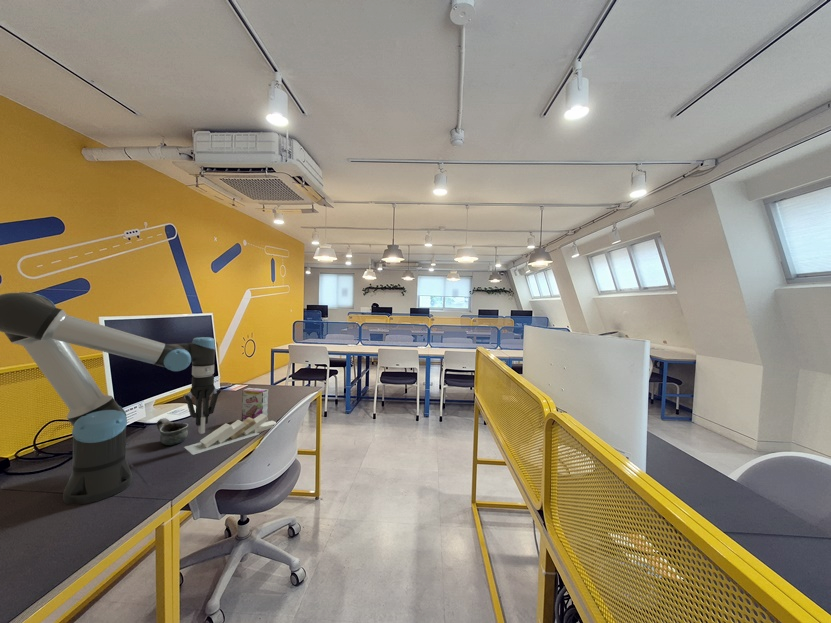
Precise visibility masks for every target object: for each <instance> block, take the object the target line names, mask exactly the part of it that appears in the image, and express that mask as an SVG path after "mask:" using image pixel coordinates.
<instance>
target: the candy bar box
mask: <svg viewBox="0 0 831 623" xmlns="http://www.w3.org/2000/svg"><path fill="white" fill-rule="evenodd" d="M241 395H242V398H241V399H242V402H241V421H244V420H245V419H247V418H248V417H250V418H252V419H254V418H256V417H257V416H259V415H260V414H264V415H266V416H267V417H268V409H269V408H268V406H269V403H268V402H269V388H268V389H267V388H255V387H246V388H245V389H243V390H242V394H241Z"/></svg>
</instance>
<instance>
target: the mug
mask: <svg viewBox="0 0 831 623" xmlns="http://www.w3.org/2000/svg"><path fill="white" fill-rule="evenodd" d="M188 427H189V424H188V423H187V422H185V423H184V422H175V421H174V422H173V421H170V419H168V418H167V417H162V418H160V419H158V420H157V422H156V428H157V429H158V431H159V432H160V435H159V440H160V443H161V444H163V445H165V446H173V445H178V444H180V443H182V442H183V441H185V440H186V439H187V437H188V434H189V433H188V432H189V431H188Z"/></svg>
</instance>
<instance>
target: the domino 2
mask: <svg viewBox="0 0 831 623" xmlns="http://www.w3.org/2000/svg"><path fill="white" fill-rule="evenodd" d="M230 425H231V426H232V428H233V430H232V431H231V432H229V433H228V434H226V435H225V436H223V437H222V438H220V439H219V440H218V441H217V442H219V443H220V444H221V443H222V442H223V441H225V440H226V439H228V438H229V437H230V436H232V435H233V434H235V433H236V432H238V431H239V430H240V429H242V428H243V427H245V424H244V422H242V420H240V419H237V420H236V421H234V422H232V423H231V424H230Z"/></svg>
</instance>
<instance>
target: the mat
mask: <svg viewBox="0 0 831 623" xmlns="http://www.w3.org/2000/svg"><path fill="white" fill-rule="evenodd" d="M258 435H260V433H259V432H257V433H254V432H253V431H251V432H250V433H248V434H247V435H245V434H244V433H242V434H240V435H239V436H237V437H236V438H235V439H233V440H232V439H230V438H228V439H226V440H225V441H223V442H222V443H221V444H220V443H219V442H217V441H216V442H215V443H213V444H212V445H210V446H209V447H208V448H206V447H205V446H203V445H202V444H201V442H200V441H199V442H197V443H193V444H190V445H186V446H183V448H184V449H186V451H187V452H189V453H190V454H191V455H192V456H194V455H196V454H197V455H198V454H201V453H203V452H207V451H210V450H214V449H216V448H219V447H223V446H226V445H230V444H233V443H235V442H239V441H243V440H244V439H245V440H246V439H248V438H251V437H255V436H258Z"/></svg>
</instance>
